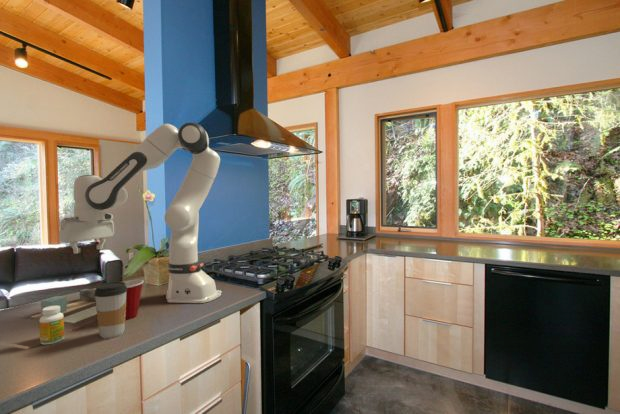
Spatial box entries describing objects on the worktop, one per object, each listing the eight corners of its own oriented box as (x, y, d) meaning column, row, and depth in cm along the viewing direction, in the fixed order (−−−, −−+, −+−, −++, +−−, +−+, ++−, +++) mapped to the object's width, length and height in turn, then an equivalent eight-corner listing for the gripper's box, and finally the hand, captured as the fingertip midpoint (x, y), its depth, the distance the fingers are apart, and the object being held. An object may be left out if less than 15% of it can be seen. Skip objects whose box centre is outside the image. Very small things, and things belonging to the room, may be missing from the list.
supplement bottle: (50, 346, 86) (49, 311, 86) (35, 344, 87) (33, 310, 87) (69, 337, 91) (68, 305, 91) (54, 335, 92) (53, 303, 92)
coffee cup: (123, 338, 90) (122, 287, 90) (90, 342, 88) (89, 290, 88) (131, 326, 98) (130, 280, 98) (101, 330, 96) (100, 282, 96)
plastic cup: (122, 310, 112) (121, 278, 112) (151, 311, 112) (150, 278, 112) (100, 323, 101) (99, 287, 101) (132, 323, 101) (131, 287, 101)
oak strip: (101, 301, 122) (101, 290, 122) (47, 320, 103) (46, 307, 103) (86, 299, 125) (86, 288, 124) (30, 318, 105) (29, 305, 105)
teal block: (66, 310, 111) (66, 297, 111) (51, 316, 106) (51, 301, 106) (56, 309, 112) (56, 296, 112) (41, 314, 107) (40, 300, 107)
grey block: (126, 304, 119) (125, 292, 119) (74, 324, 100) (73, 310, 100) (109, 302, 121) (109, 290, 121) (56, 322, 102) (55, 308, 102)
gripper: (66, 218, 110) (67, 256, 111) (116, 214, 130) (117, 247, 130) (53, 217, 112) (54, 255, 112) (105, 214, 132) (105, 246, 132)
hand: (88, 251), depth 121 cm, fingers open, 8 cm apart
